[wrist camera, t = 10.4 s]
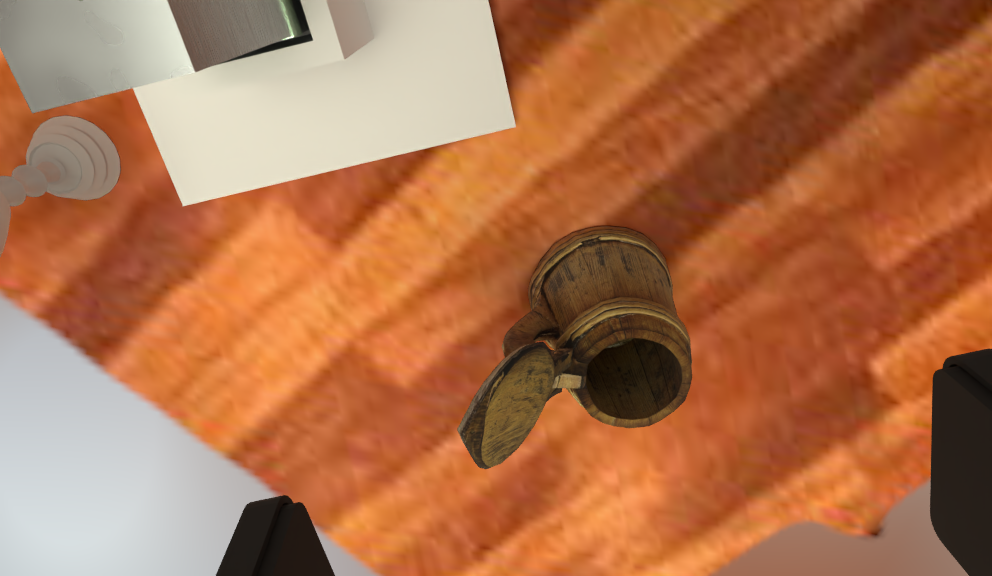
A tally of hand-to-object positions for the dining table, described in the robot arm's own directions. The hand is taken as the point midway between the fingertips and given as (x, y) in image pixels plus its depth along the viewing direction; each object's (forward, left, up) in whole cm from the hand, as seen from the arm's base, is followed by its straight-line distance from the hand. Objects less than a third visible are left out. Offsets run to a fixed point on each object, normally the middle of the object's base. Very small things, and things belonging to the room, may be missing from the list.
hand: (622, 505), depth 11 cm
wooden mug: (-1, +12, -34) cm, 37 cm away
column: (+10, -9, -27) cm, 30 cm away
